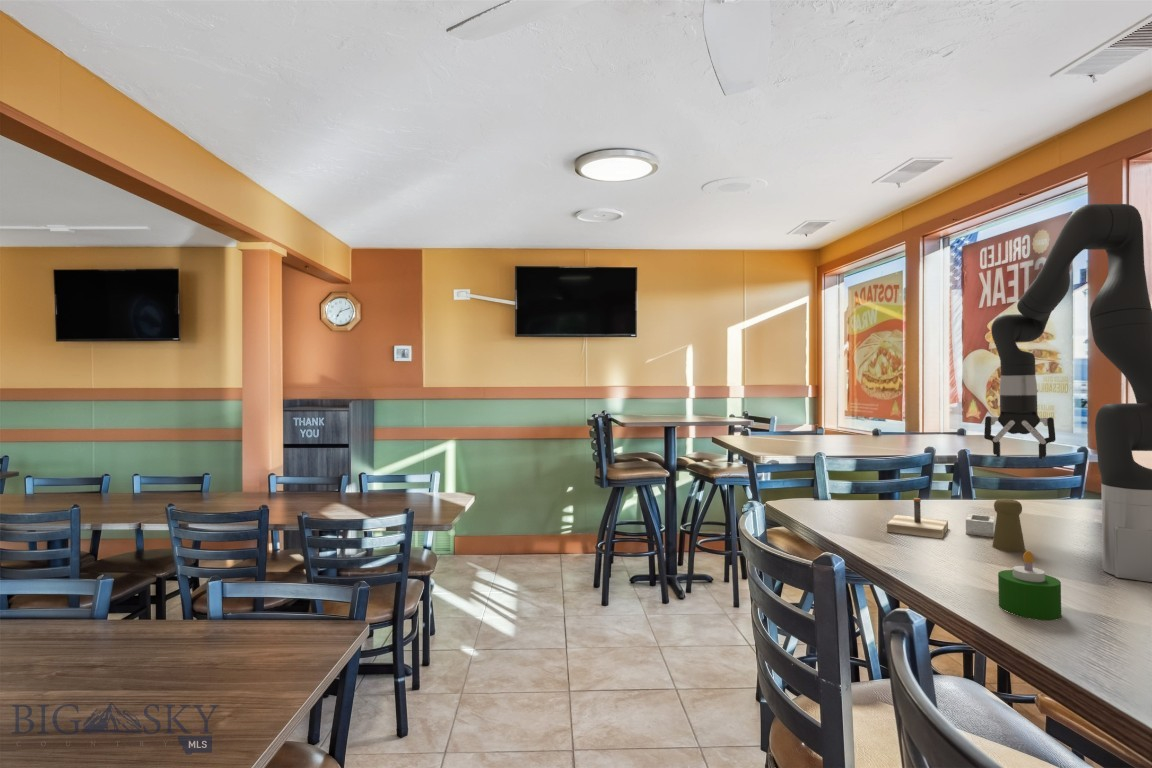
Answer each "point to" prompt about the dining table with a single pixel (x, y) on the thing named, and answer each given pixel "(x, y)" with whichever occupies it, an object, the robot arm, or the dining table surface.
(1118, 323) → the robot arm
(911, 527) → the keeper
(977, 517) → the white hollow block
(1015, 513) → the cork
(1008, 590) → the candle
